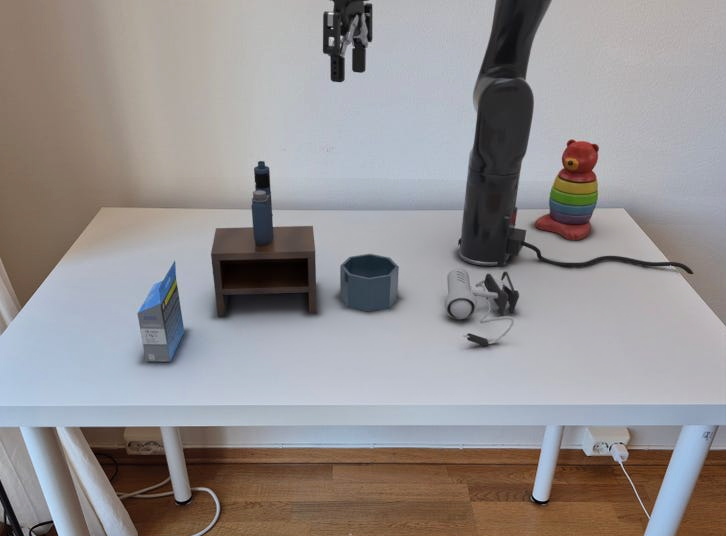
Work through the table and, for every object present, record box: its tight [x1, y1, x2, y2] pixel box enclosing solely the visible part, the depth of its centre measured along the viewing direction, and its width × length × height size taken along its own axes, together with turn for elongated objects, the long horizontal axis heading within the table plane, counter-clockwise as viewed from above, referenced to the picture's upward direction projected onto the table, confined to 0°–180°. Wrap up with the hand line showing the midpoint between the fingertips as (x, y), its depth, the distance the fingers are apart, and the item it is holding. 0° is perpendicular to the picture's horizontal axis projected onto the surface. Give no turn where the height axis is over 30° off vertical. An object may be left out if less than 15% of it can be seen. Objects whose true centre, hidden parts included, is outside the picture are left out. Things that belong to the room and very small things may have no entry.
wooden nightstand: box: [210, 225, 318, 318], centre depth 115 cm, size 16×10×11 cm, turn 95°
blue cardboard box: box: [136, 260, 185, 363], centre depth 103 cm, size 9×4×12 cm, turn 178°
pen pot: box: [339, 253, 400, 313], centre depth 118 cm, size 9×9×6 cm
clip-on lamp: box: [444, 266, 520, 347], centre depth 112 cm, size 12×6×18 cm
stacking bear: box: [534, 139, 600, 241], centre depth 141 cm, size 11×10×18 cm
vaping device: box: [250, 160, 274, 245], centre depth 109 cm, size 3×5×12 cm, turn 174°
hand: (348, 76), depth 117 cm, fingers open, 8 cm apart
